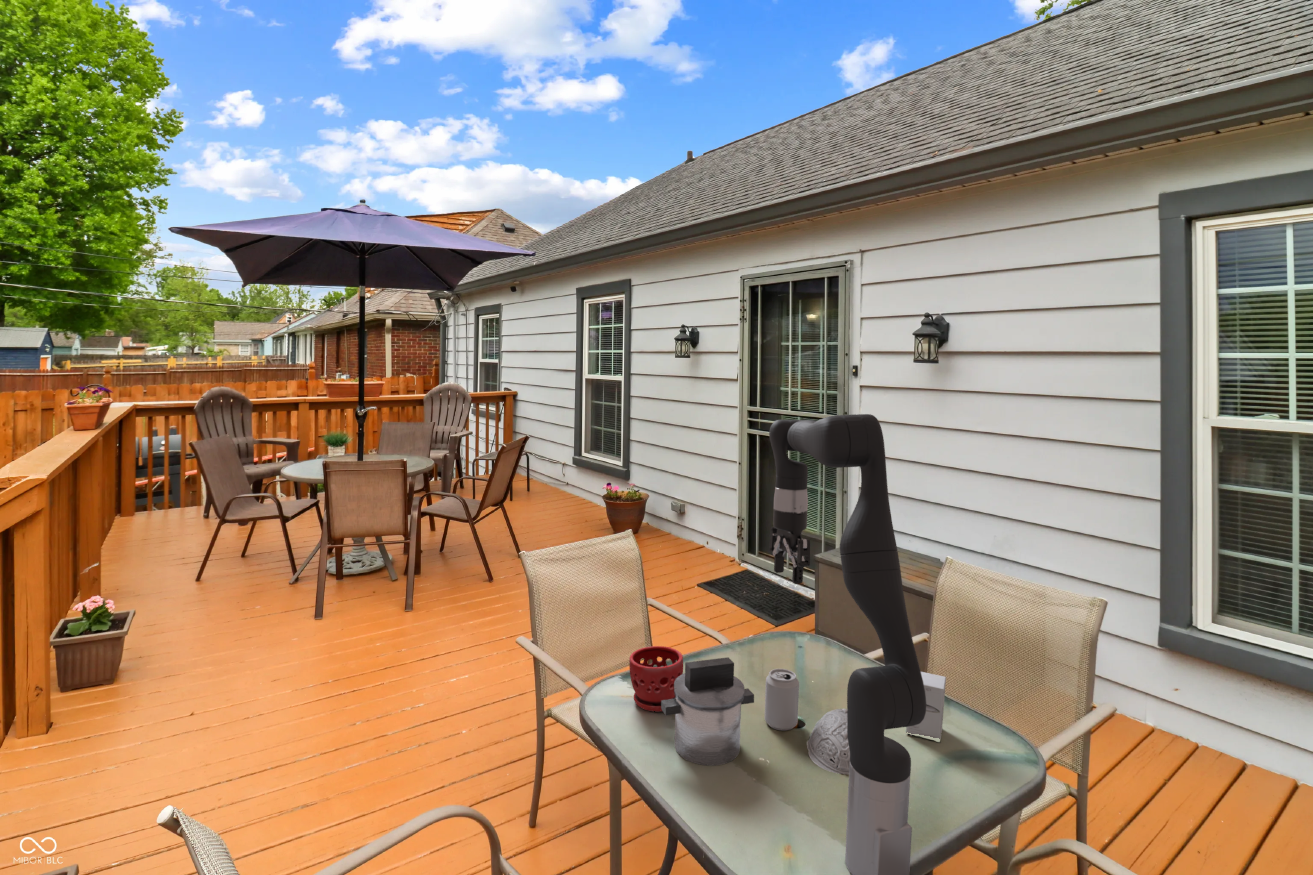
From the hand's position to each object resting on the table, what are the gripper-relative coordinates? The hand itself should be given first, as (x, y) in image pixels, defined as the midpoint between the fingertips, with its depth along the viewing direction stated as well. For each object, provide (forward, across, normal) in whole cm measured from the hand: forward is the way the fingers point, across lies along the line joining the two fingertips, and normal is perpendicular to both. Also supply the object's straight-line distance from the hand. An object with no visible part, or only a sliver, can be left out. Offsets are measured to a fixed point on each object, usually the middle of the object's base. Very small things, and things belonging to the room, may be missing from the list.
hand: (787, 577), depth 146 cm
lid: (+22, +5, -21) cm, 31 cm away
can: (+34, +1, -1) cm, 34 cm away
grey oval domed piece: (+35, +12, +8) cm, 38 cm away
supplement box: (+34, +13, +29) cm, 47 cm away
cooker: (+34, +5, -21) cm, 40 cm away
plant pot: (+34, -16, -26) cm, 46 cm away
